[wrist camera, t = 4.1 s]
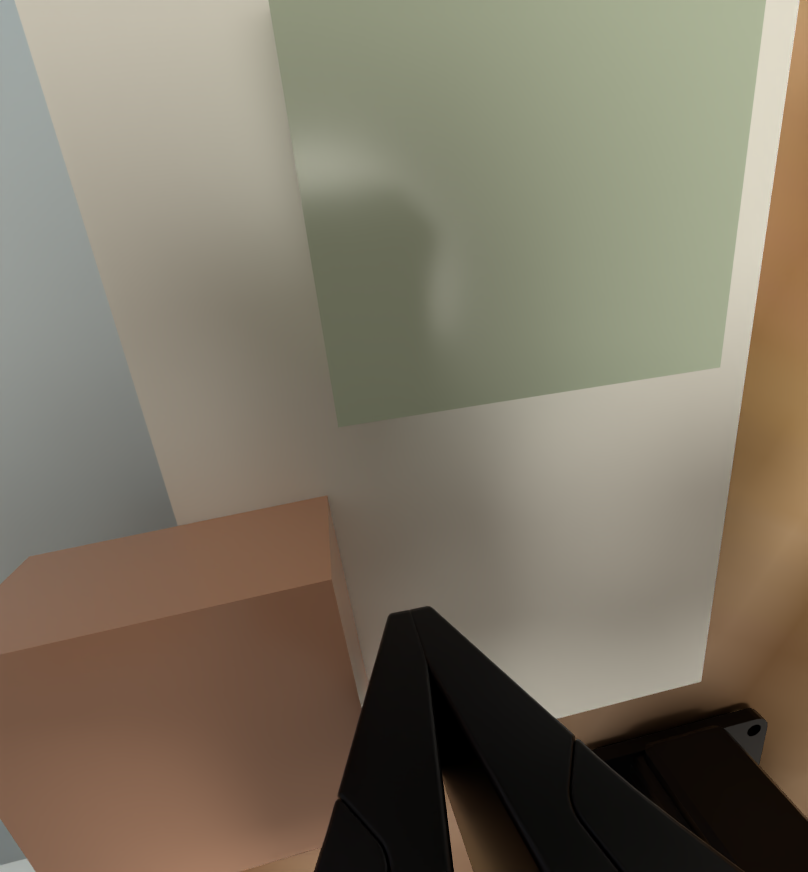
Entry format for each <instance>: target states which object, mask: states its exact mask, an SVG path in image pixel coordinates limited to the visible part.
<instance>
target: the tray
mask: <svg viewBox="0 0 808 872" xmlns="http://www.w3.org/2000/svg"><path fill="white" fill-rule="evenodd" d="M175 526H178V525H177V522H176V518H175V515H174V512H173V509H172V506H171V502H170V499H169V496H168V493H167V490H166V486H165V483H164V480H163V477H162V473H161V470H160V467H159V464H158V461H157V457H156V454H155V451H154V448H153V445H152V441H151V438H150V435H149V432H148V428H147V425H146V422H145V419H144V416H143V412H142V409H141V406H140V403H139V400H138V396H137V393H136V390H135V387H134V383H133V380H132V377H131V374H130V371H129V367H128V364H127V361H126V358H125V355H124V351H123V348H122V345H121V342H120V338H119V335H118V332H117V329H116V326H115V322H114V319H113V316H112V313H111V310H110V306H109V303H108V300H107V297H106V293H105V290H104V287H103V284H102V281H101V277H100V274H99V271H98V268H97V265H96V261H95V258H94V255H93V252H92V248H91V245H90V242H89V239H88V236H87V232H86V229H85V226H84V223H83V220H82V216H81V213H80V210H79V207H78V203H77V200H76V197H75V194H74V191H73V187H72V184H71V181H70V178H69V175H68V171H67V168H66V165H65V162H64V158H63V155H62V152H61V149H60V146H59V142H58V139H57V136H56V133H55V130H54V126H53V123H52V120H51V117H50V113H49V110H48V107H47V104H46V101H45V97H44V94H43V91H42V88H41V85H40V81H39V78H38V75H37V72H36V68H35V65H34V62H33V59H32V56H31V52H30V49H29V46H28V43H27V39H26V36H25V33H24V30H23V27H22V23H21V20H20V17H19V14H18V11H17V7H16V4H15V1H14V0H0V584H1V583H2V582H3V581H4V580H5V579H6V578H7V577H8V576H9V575H10V574H11V573H13V572H14V571H15V570H16V569H17V568H18V567H19V566H20V565H21V564H22V563H23V562H24V561H25V560H26V559H27V558H28V557H29V556H34V555H39V554H44V553H48V552H53V551H58V550H63V549H68V548H73V547H78V546H83V545H87V544H92V543H97V542H102V541H107V540H112V539H117V538H122V537H127V536H131V535H136V534H141V533H146V532H151V531H156V530H161V529H166V528H170V527H175ZM0 872H36V871H35V870H34V868H33V867H32V866H31V864H30V863H29V861H28V860H27V858H26V857H25V855H24V854H23V852H22V851H21V849H20V848H19V846H18V845H17V843H16V842H15V840H14V839H13V837H12V836H11V834H10V833H9V831H8V830H7V828H6V827H5V825H4V824H3V822H2V821H1V819H0Z"/></svg>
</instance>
